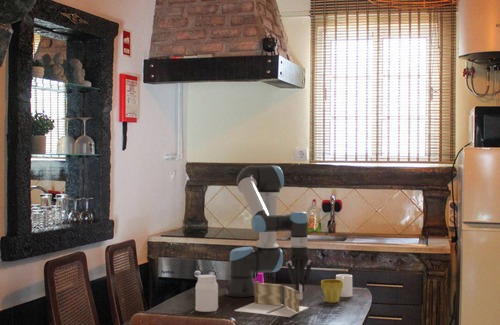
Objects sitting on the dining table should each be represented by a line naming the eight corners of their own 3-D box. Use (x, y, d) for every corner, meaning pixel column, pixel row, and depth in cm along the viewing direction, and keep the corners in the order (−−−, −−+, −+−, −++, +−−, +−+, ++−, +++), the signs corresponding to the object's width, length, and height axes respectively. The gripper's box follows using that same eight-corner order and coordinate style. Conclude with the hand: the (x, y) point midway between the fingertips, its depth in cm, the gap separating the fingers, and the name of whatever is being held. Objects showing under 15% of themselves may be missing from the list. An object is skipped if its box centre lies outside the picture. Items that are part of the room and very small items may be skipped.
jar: (215, 311, 315) (215, 278, 315) (194, 311, 316) (194, 278, 316) (218, 306, 327) (218, 274, 327) (198, 306, 327) (198, 273, 327)
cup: (334, 298, 347) (334, 277, 347) (336, 293, 359) (336, 273, 359) (350, 298, 346) (350, 278, 346) (353, 294, 357) (353, 274, 357)
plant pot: (321, 303, 334) (321, 282, 334) (320, 299, 345) (320, 279, 344) (343, 303, 334) (343, 282, 334) (341, 299, 344) (341, 279, 344)
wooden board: (281, 304, 327) (281, 285, 327) (285, 303, 328) (285, 284, 328) (296, 312, 309) (296, 292, 309) (300, 312, 310) (300, 292, 310)
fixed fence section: (253, 303, 333) (253, 281, 333) (255, 302, 335) (255, 281, 335) (280, 305, 326) (280, 284, 326) (282, 305, 328) (282, 283, 328)
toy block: (263, 286, 382) (263, 272, 382) (262, 288, 376) (262, 274, 376) (236, 285, 384) (236, 271, 384) (234, 287, 378) (234, 273, 378)
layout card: (234, 311, 317) (234, 310, 317) (256, 302, 337) (256, 301, 337) (289, 317, 305) (289, 316, 305) (308, 307, 324) (308, 306, 324)
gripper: (288, 248, 310) (289, 301, 310) (315, 246, 315) (316, 299, 315) (282, 246, 318) (283, 298, 318) (309, 244, 322) (309, 296, 322)
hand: (299, 299), depth 316 cm, fingers closed
